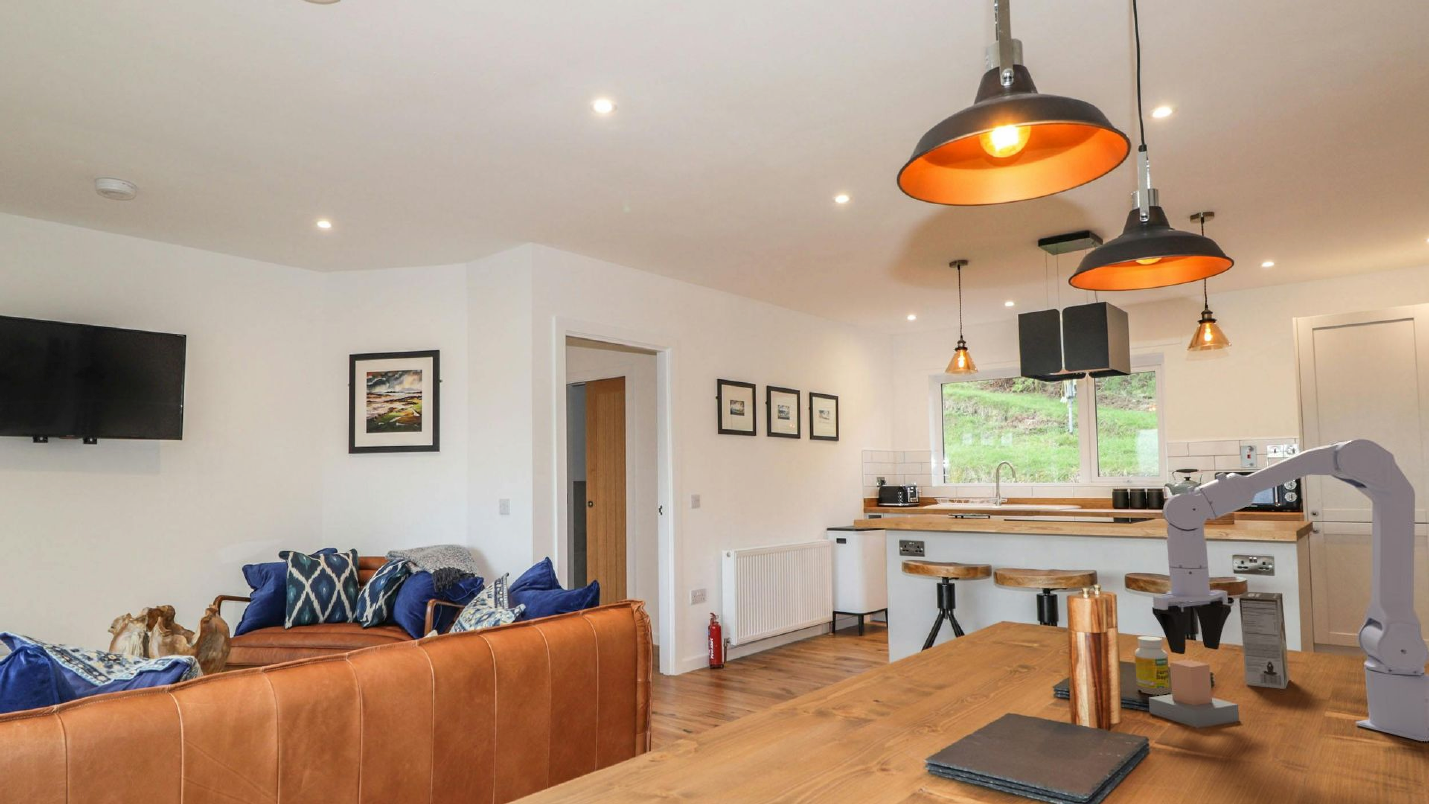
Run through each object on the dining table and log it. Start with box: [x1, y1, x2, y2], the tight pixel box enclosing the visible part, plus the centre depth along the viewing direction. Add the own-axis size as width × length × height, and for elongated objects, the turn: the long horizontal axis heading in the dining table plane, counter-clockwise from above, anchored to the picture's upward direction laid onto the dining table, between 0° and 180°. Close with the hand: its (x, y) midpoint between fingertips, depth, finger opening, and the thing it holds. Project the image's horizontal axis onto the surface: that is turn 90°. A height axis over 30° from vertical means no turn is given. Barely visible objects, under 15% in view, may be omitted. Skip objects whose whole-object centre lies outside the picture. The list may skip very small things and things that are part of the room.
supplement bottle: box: [1134, 635, 1171, 688], centre depth 154 cm, size 5×5×10 cm
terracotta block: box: [1169, 659, 1213, 705], centre depth 138 cm, size 4×4×6 cm
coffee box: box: [1238, 591, 1290, 690], centre depth 159 cm, size 9×6×16 cm
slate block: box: [1148, 693, 1240, 729], centre depth 138 cm, size 9×9×3 cm
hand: (1194, 650), depth 139 cm, fingers open, 7 cm apart
